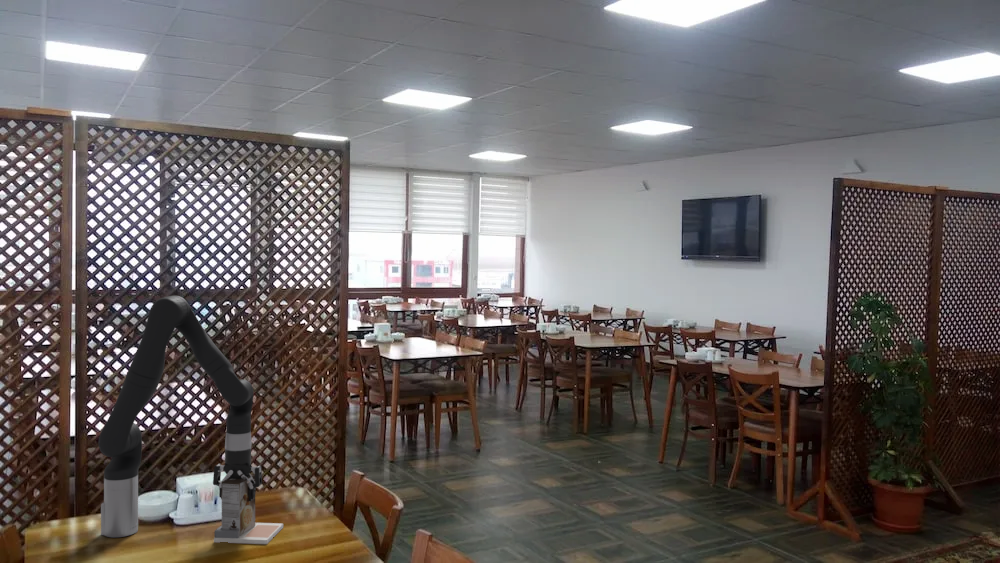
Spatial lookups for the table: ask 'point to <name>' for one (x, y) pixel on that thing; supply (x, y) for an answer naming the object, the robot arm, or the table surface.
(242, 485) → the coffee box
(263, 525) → the slide dock
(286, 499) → the table surface
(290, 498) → the table surface
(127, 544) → the table surface
